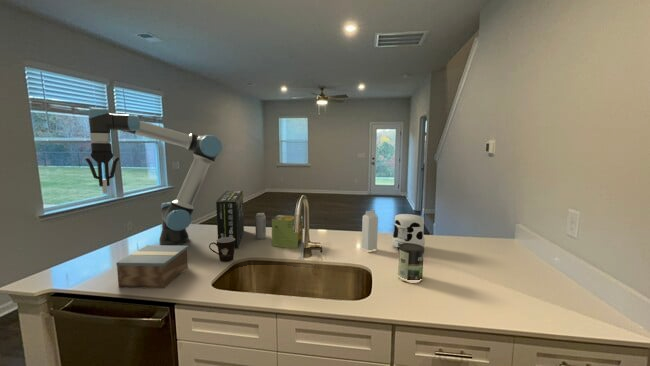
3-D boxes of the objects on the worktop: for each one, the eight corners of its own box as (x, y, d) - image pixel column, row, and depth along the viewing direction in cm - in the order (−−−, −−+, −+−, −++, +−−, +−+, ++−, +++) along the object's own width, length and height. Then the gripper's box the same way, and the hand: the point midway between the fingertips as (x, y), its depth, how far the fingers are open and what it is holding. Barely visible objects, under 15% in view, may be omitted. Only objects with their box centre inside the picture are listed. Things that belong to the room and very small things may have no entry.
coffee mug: (239, 257, 150) (238, 238, 148) (228, 264, 142) (227, 243, 140) (219, 254, 153) (219, 235, 152) (208, 260, 145) (207, 240, 144)
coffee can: (425, 276, 131) (427, 245, 129) (418, 286, 122) (420, 252, 120) (402, 271, 136) (403, 241, 134) (394, 279, 127) (395, 247, 126)
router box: (226, 231, 195) (225, 190, 191) (244, 230, 197) (243, 190, 193) (216, 250, 160) (215, 200, 157) (238, 249, 162) (237, 200, 159)
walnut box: (118, 287, 117) (116, 265, 116) (148, 266, 137) (147, 247, 136) (164, 288, 117) (163, 266, 116) (187, 267, 137) (187, 248, 136)
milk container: (419, 244, 175) (420, 213, 172) (428, 254, 157) (430, 221, 155) (389, 243, 175) (390, 213, 173) (395, 254, 158) (396, 220, 156)
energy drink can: (257, 236, 185) (256, 212, 183) (266, 236, 185) (266, 212, 183) (254, 239, 179) (254, 214, 177) (264, 239, 179) (264, 215, 177)
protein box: (298, 248, 165) (298, 220, 163) (271, 246, 168) (271, 219, 166) (303, 242, 175) (303, 216, 173) (278, 240, 178) (277, 214, 176)
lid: (116, 265, 116) (116, 262, 116) (147, 247, 136) (147, 244, 136) (164, 266, 116) (163, 263, 116) (188, 248, 136) (188, 245, 136)
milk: (361, 249, 164) (362, 210, 161) (370, 248, 167) (371, 209, 164) (367, 253, 159) (368, 212, 156) (377, 251, 161) (378, 211, 159)
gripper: (116, 142, 146) (119, 190, 149) (82, 142, 137) (86, 193, 139) (119, 142, 140) (123, 192, 143) (84, 142, 131) (88, 195, 134)
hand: (105, 193), depth 141 cm, fingers closed
